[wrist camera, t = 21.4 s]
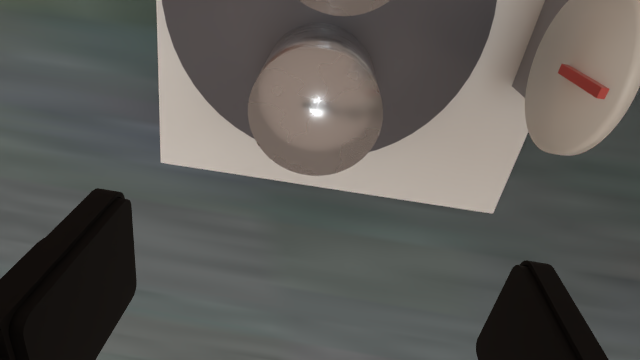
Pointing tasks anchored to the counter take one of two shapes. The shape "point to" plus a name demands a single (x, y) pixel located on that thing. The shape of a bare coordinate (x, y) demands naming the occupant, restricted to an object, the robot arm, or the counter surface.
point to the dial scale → (410, 87)
